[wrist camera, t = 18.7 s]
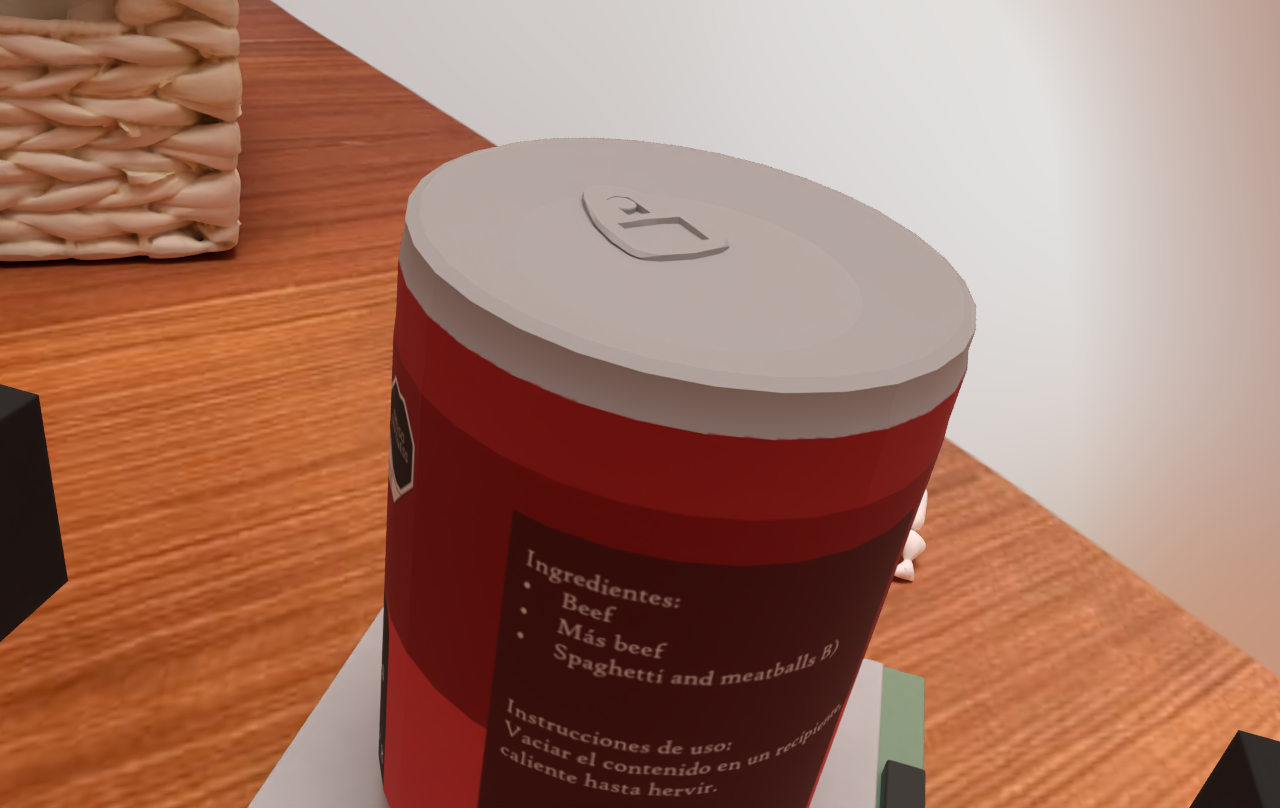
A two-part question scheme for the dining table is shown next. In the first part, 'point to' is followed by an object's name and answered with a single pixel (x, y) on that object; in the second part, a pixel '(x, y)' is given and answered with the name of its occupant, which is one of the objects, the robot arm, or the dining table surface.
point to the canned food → (646, 473)
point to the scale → (356, 804)
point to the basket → (118, 128)
